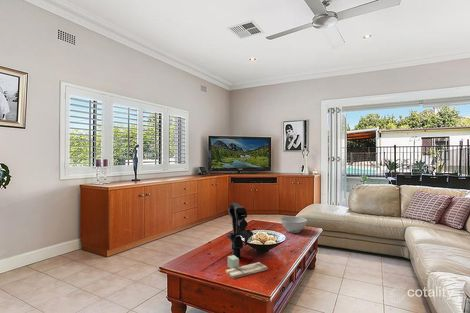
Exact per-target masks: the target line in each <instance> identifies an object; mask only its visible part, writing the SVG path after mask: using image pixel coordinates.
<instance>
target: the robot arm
mask: <svg viewBox="0 0 470 313" xmlns="http://www.w3.org/2000/svg"><path fill="white" fill-rule="evenodd" d="M227 211H228V214H229V215H228V216H229V217H230V218H231V224H232V232H229V233H227V235H226V237H227V238H228V239H229V240H230V241H231V242H230V249H231V250H232V254H230V256H232V255H234V256H236V257H237V258H242V257H243V256H242V255H241V250H243V249H244V248H243V247H244V246H247V244H248V242H249V239H250V238H252V236H254V232H253V231H252V230H251V229H246V228H247V227H248V225H249V224H248V221H247V220H246V219H247V218H248V213H247V212H248V211H247V209H246V208H245V206H241V205H240V204H239V202H238V201H235V202H232V203H231V204H230V205H228V209H227ZM242 239H244V241H243V240H242Z"/></svg>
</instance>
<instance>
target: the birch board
mask: <svg viewBox="0 0 470 313" xmlns="http://www.w3.org/2000/svg"><path fill="white" fill-rule="evenodd" d="M268 269H269V268H268V266H267V265H265V264H263V263H261V262H260V261H257V262H253V263H250V264H245V265H242V266H239V267H237V268H233V269H230V268H228V269H225V274H227V275H228V276H229V277H230V278H232V279H234V280H235V279H237V278H241V277H245V276H248V275H253V274H256V273H259V272H263V271H267V270H268Z"/></svg>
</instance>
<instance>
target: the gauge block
mask: <svg viewBox="0 0 470 313" xmlns="http://www.w3.org/2000/svg"><path fill="white" fill-rule="evenodd" d="M231 255H232V256H231ZM231 255H228V256H227V268H228V269H233V268H237V267H240V259H239V258H240V257H239V258H237V257H236V256H234V255H233V254H231Z"/></svg>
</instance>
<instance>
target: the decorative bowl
mask: <svg viewBox="0 0 470 313" xmlns="http://www.w3.org/2000/svg"><path fill="white" fill-rule="evenodd" d="M280 222H281V223H280V224H281V225H282V226H283V228H284V229H286V230H287V232H288V233H294V234H296V233H300V232H301V231H302V230H303V229H304V228H305V227H306V225H307V222H308V219H306V218H304V217H302V216H295V215H293V216H291V215H290V216H289V215H287V216H283V217H280Z"/></svg>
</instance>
